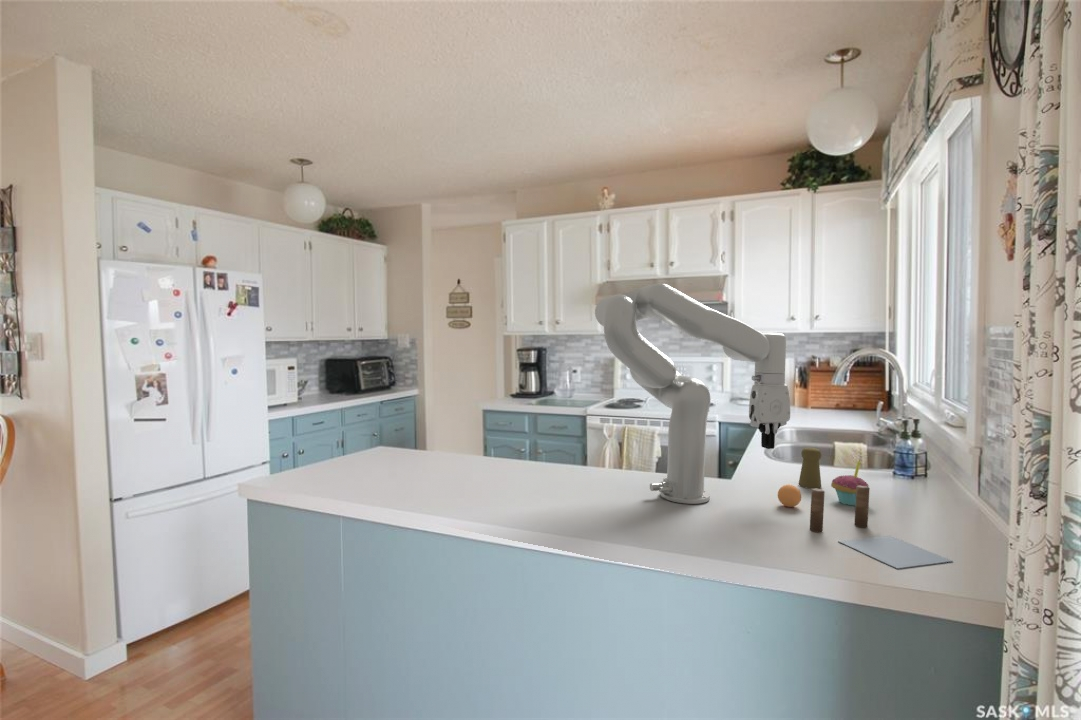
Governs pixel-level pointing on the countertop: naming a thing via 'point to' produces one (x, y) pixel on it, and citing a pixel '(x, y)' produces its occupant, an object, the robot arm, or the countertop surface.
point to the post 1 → (817, 510)
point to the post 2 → (862, 506)
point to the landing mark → (895, 552)
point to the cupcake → (848, 486)
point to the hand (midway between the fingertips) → (767, 447)
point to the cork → (810, 468)
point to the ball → (789, 495)
